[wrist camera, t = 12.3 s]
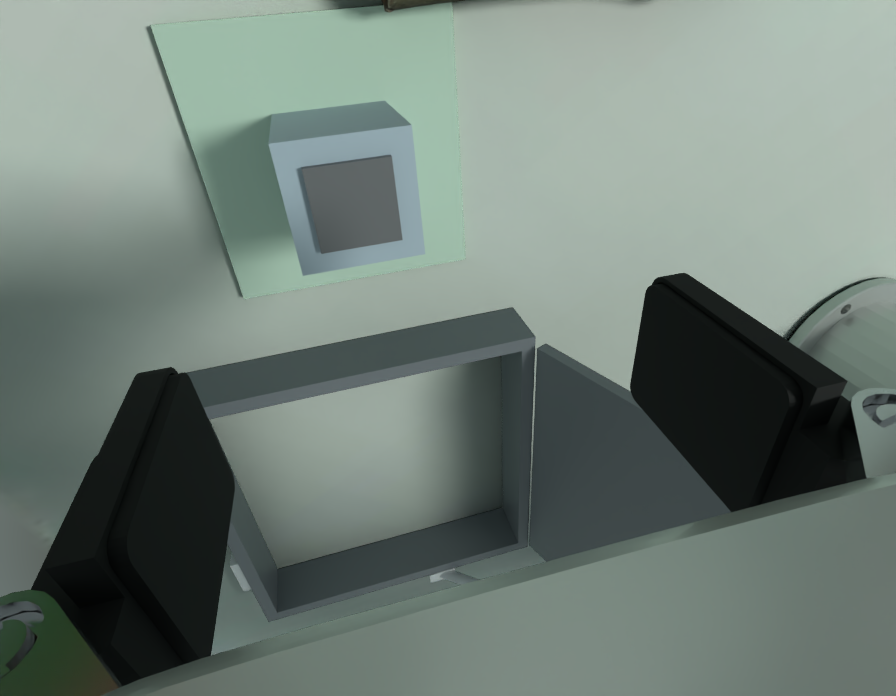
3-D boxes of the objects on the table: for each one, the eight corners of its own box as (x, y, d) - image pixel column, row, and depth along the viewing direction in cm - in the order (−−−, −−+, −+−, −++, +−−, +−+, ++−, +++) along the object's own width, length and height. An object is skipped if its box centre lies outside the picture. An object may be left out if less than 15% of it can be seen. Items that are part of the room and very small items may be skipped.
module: (384, 100, 23) (413, 126, 18) (398, 208, 26) (426, 256, 21) (271, 114, 22) (268, 145, 17) (299, 224, 25) (303, 279, 20)
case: (562, 297, 32) (675, 414, 23) (547, 509, 44) (617, 641, 35) (160, 378, 28) (99, 562, 19) (265, 587, 40) (260, 762, 31)
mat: (449, -1, 22) (452, -1, 21) (463, 256, 29) (465, 259, 28) (152, 24, 20) (150, 25, 19) (244, 295, 26) (243, 299, 26)
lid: (537, 348, 29) (547, 342, 29) (529, 545, 39) (536, 538, 40) (883, 551, 18) (893, 537, 18) (740, 749, 28) (748, 738, 29)
